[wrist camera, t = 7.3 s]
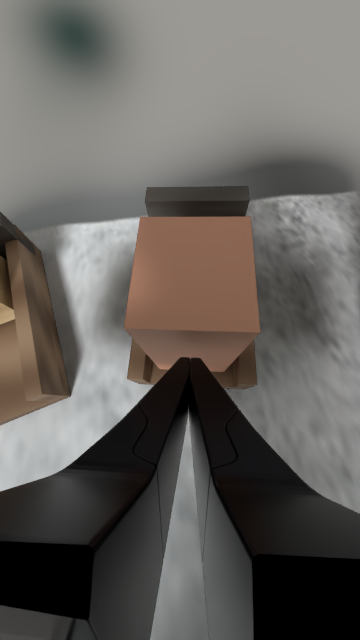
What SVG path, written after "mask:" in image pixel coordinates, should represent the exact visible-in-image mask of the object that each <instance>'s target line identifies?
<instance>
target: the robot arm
mask: <svg viewBox="0 0 360 640" xmlns="http://www.w3.org/2000/svg"><path fill="white" fill-rule="evenodd" d="M188 410H189V421H190V432H191V444H192V455H193V466H194V477H195V488H196V499H197V510H198V522H199V533H200V544H201V555H202V563H203V565H202V566H203V578H204V589H205V600H206V611H207V622H208V633H209V640H360V514H359V513H357V512H355V511H353V510H350V509H348V508H346V507H344V506H342V505H340V504H338V503H336V502H334V501H331V500H329V499H327V498H325V497H324V496H322V495H320V494H319V493H317V492H316V491H315V490H313V489H312V488H311V487H310V486H308V485H307V484H306V483H305V482H304V481H303V480H302V479H301V478H300V477H299V476H298V475H297V474H296V473H295V472H294V471H293V470H292V469H291V468H290V467H289V466H288V465H287V464H286V462H285V461H284V460H283V459H282V458H281V457H280V456H279V455H278V454H277V453H276V452H275V451H274V450H273V449H272V448H271V447H270V446H269V444H268V443H267V442H266V441H265V440H264V439H263V438H262V437H261V436H260V435H259V433H258V432H257V431H256V430H255V429H254V428H253V427H252V425H251V424H250V423H249V422H248V420H247V419H246V418H245V416H244V415H243V414H242V412H241V411H240V410H239V409H238V407H237V406H236V405H235V403H234V402H233V401H232V399H231V398H230V397H229V395H228V394H227V393H226V391H225V390H224V389H223V387H222V386H221V385H220V383H219V382H218V381H217V379H216V378H215V377H214V375H213V374H212V373H211V371H210V370H209V369H208V367H207V366H206V365H205V363H204V362H203V361H202V359H201V358H195V357H192V358H191V359H190V358H189V357H180V358H179V359H178V360H177V361H176V362H175V363H174V364H173V366H172V367H171V368H170V369H169V370H168V371H167V372H166V373H165V374H164V375H163V376H162V377H161V378H160V380H159V381H158V382H157V383H156V384H155V385H154V386H153V387H152V388H151V389H150V390H149V391H148V393H147V394H146V395H145V396H144V397H143V398H142V399H141V400H140V401H139V402H138V404H136V405H135V406H134V408H133V409H132V410H131V411H130V412H129V413H128V414H127V415H126V416H125V417H124V418H123V419H122V420H121V421H120V422H119V423H118V424H117V425H115V426H114V427H113V428H112V429H111V430H110V431H109V432H108V433H107V434H105V435H104V436H103V437H102V438H101V439H100V440H98V441H97V442H96V443H95V444H94V445H93V446H91V447H90V448H89V449H88V450H87V451H86V452H85V453H83V454H82V455H81V456H80V457H79V458H78V459H76V460H75V461H74V462H73V463H71V464H70V465H69V466H67V467H66V468H64V469H63V470H61V471H59V472H58V473H56V474H53V475H51V476H48V477H46V478H42V479H39V480H36V481H33V482H30V483H26V484H23V485H20V486H17V487H14V488H10V489H7V490H4V491H1V492H0V640H150V636H151V630H152V624H153V618H154V612H155V607H156V601H157V595H158V589H159V583H160V577H161V571H162V565H163V558H164V553H165V548H166V542H167V536H168V530H169V524H170V518H171V512H172V506H173V501H174V495H175V489H176V483H177V477H178V471H179V465H180V459H181V454H182V448H183V442H184V436H185V430H186V424H187V418H188Z"/></svg>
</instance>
